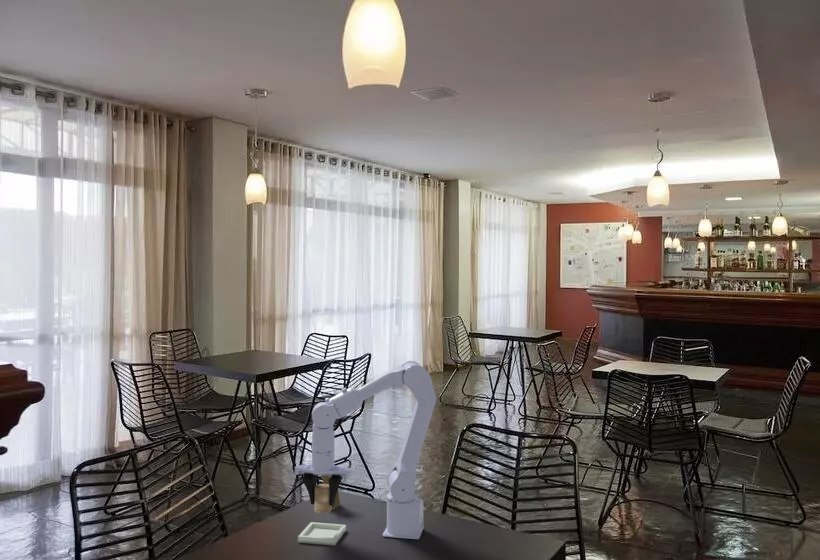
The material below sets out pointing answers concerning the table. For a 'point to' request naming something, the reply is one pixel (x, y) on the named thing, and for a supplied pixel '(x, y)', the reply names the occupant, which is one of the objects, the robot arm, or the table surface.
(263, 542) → the table surface
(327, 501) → the beech cylinder
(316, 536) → the sage tray
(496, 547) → the table surface
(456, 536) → the table surface
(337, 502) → the olive tapered cylinder
